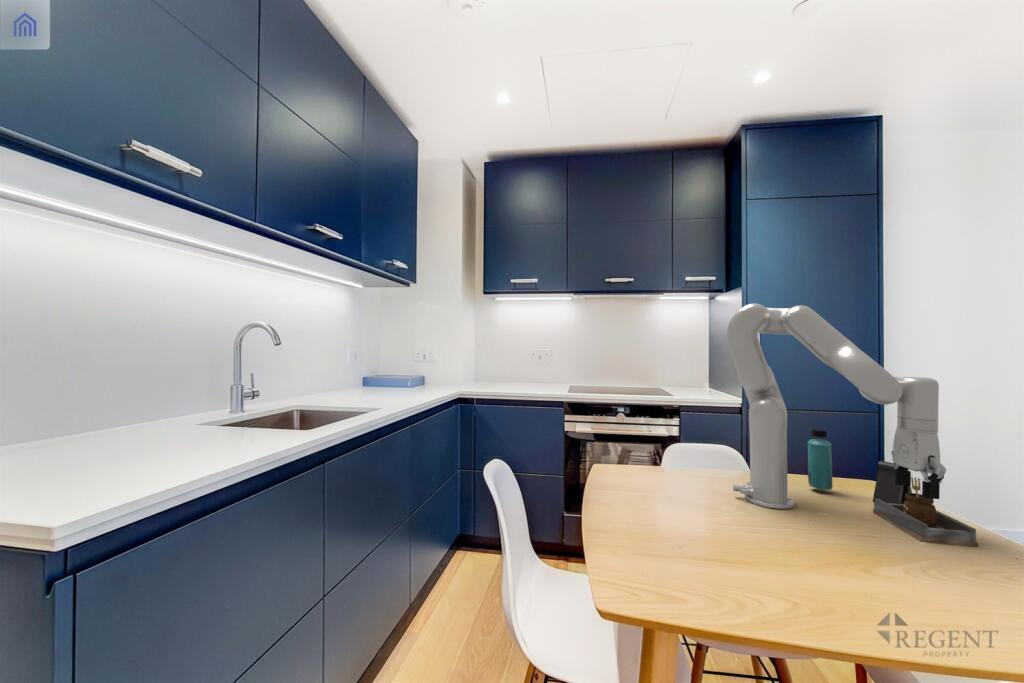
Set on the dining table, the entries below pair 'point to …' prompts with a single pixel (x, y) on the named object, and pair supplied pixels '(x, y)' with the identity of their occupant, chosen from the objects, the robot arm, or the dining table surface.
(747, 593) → the dining table surface
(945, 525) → the gray framed rectangular tray
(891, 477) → the phone stand
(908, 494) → the utensil holder
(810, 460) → the beverage bottle
